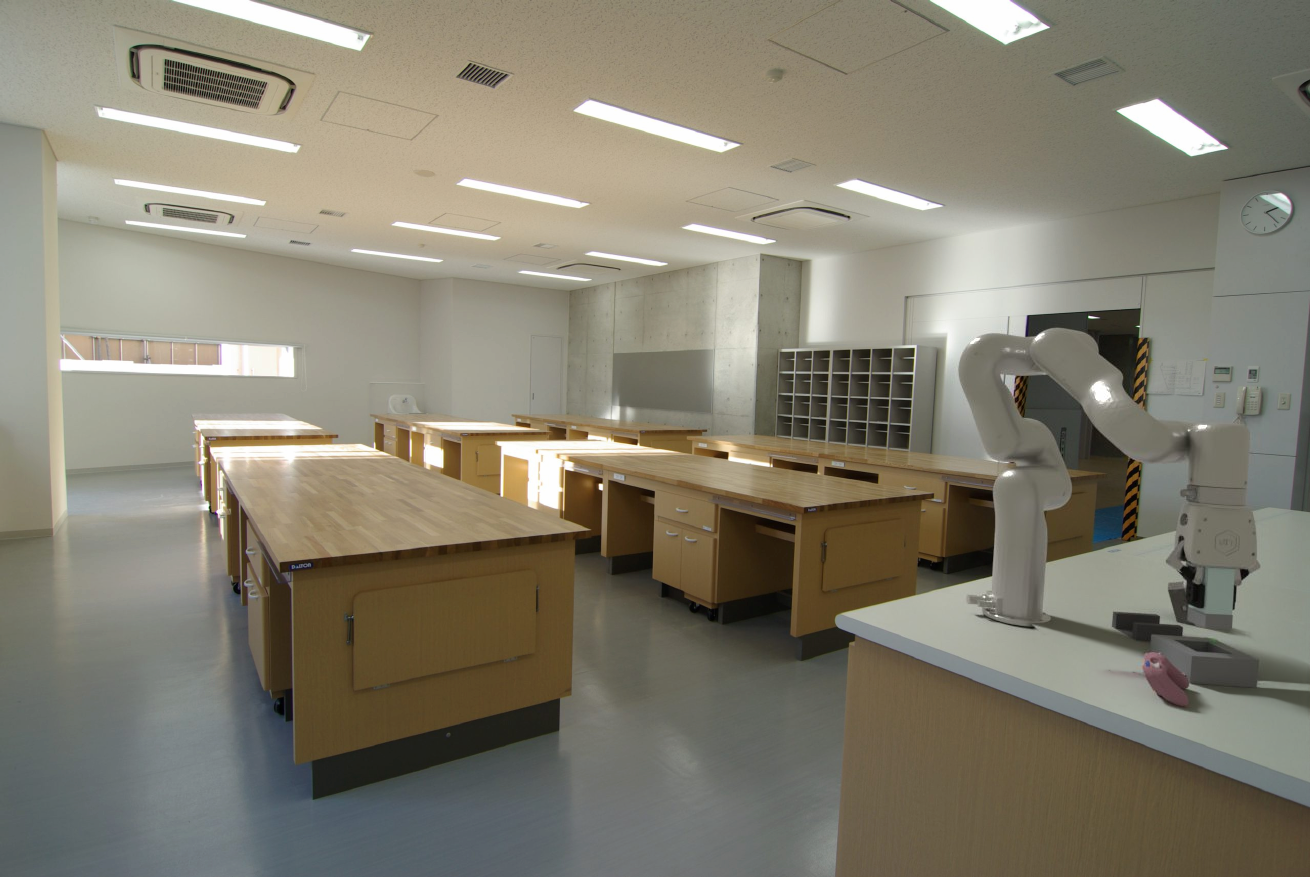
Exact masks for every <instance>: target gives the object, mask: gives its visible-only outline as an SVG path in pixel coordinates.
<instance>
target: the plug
mask: <svg viewBox="0 0 1310 877" xmlns="http://www.w3.org/2000/svg"><path fill="white" fill-rule="evenodd" d="M1195 568H1196V567H1195ZM1234 574H1235V569H1234V568H1213V567H1205V571H1204V575H1203V579H1202V582H1201V584H1203V585H1205V596H1204V607H1203V608H1197V607H1194V606H1191V605H1189V607H1188V617H1187V621H1189V622H1192V623H1194V624H1196V625H1198V626H1201V627H1200V628H1204V629H1210V630H1229V631H1230V630H1231V631H1232V630H1233V620H1234V619H1233V617H1234V615H1233V611H1234V610H1233V593H1234Z"/></svg>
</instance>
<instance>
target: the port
mask: <svg viewBox="0 0 1310 877" xmlns="http://www.w3.org/2000/svg"><path fill="white" fill-rule="evenodd" d="M1149 647H1150V648H1149V653H1150V652H1155V653H1160V652H1161V654H1162V655H1163V656H1165V657H1166V658H1167V659H1168V660H1169V662H1170V663H1171V664H1172V665H1173V666H1174V667H1176V668H1177V669H1178V670H1179V671H1180V672H1182V673H1183V674H1184V675H1185V676H1186V678H1187V679H1188V681H1189V684H1194V685H1210V686H1211V685H1212V686H1224V687H1227V686H1228V687H1238V688H1239V687H1241V688H1253V689H1257V688H1258V677H1259V667H1260V666H1259V665H1260V660H1259V659H1257V658H1255V657H1253V656H1251V655H1249V654H1247V653H1244V652H1242V651H1241V650H1238V649H1236V648H1235V647H1232V646H1229V645H1227V644H1226V643H1223V642H1222V641H1219V640H1218V639H1216V638H1214V637H1199V636H1186V635H1185V636H1184V635H1182V636H1170V635H1155V634H1151V642H1150V646H1149Z"/></svg>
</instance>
